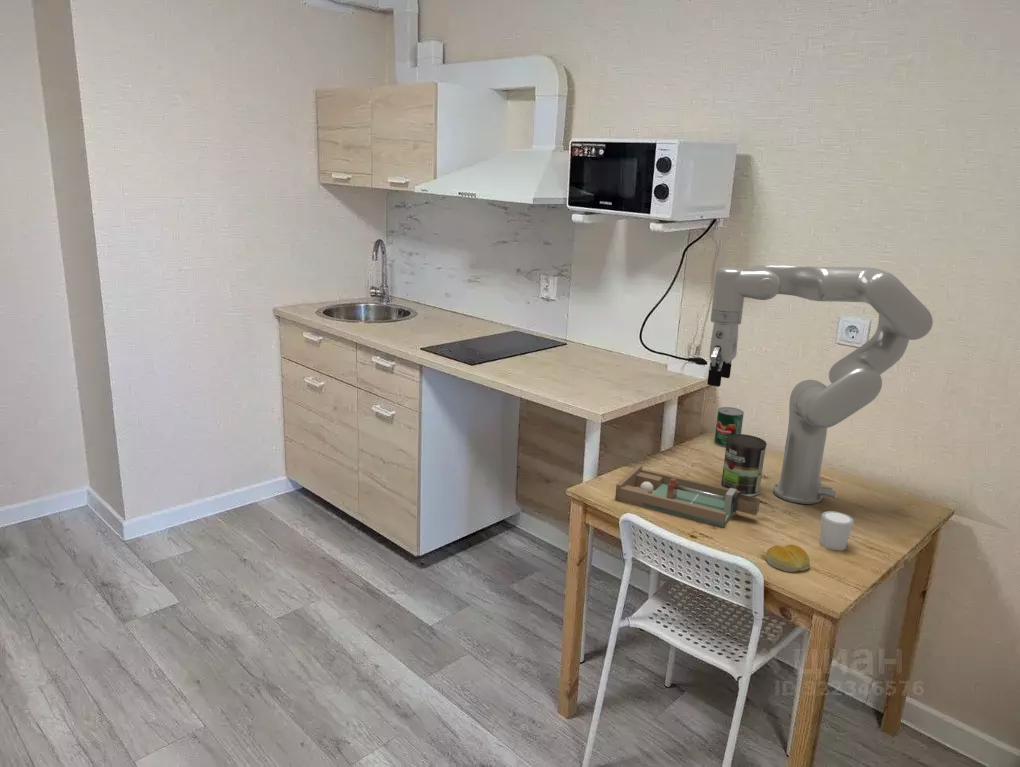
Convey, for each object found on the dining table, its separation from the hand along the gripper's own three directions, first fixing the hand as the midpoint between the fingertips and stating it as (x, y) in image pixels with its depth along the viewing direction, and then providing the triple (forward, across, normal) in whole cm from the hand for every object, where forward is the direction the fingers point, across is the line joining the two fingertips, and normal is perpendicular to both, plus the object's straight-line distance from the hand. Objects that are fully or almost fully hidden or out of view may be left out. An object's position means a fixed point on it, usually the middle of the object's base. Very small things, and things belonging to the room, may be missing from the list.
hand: (718, 381), depth 193 cm
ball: (+29, -13, +12) cm, 34 cm away
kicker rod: (+29, -13, -5) cm, 32 cm away
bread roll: (+31, -30, -26) cm, 50 cm away
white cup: (+31, -15, -34) cm, 48 cm away
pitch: (+30, -13, +4) cm, 33 cm away
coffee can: (+31, +5, -8) cm, 32 cm away
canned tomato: (+31, +39, +4) cm, 50 cm away
